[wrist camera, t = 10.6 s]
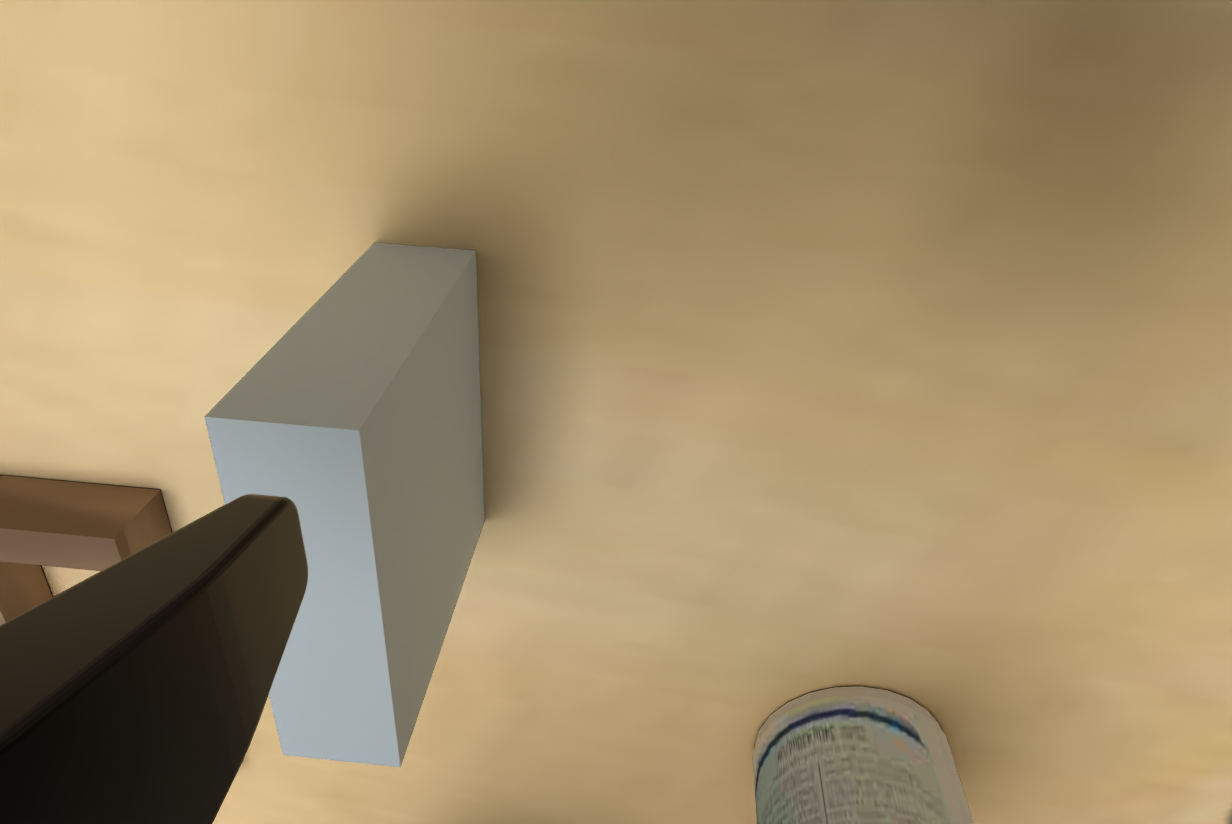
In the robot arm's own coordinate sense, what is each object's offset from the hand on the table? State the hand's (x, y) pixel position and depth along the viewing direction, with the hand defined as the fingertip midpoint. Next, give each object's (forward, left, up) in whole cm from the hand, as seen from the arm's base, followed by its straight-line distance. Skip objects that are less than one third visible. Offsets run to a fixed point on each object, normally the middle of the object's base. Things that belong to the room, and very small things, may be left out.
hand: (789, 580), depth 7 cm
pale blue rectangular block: (-6, +7, -13) cm, 16 cm away
